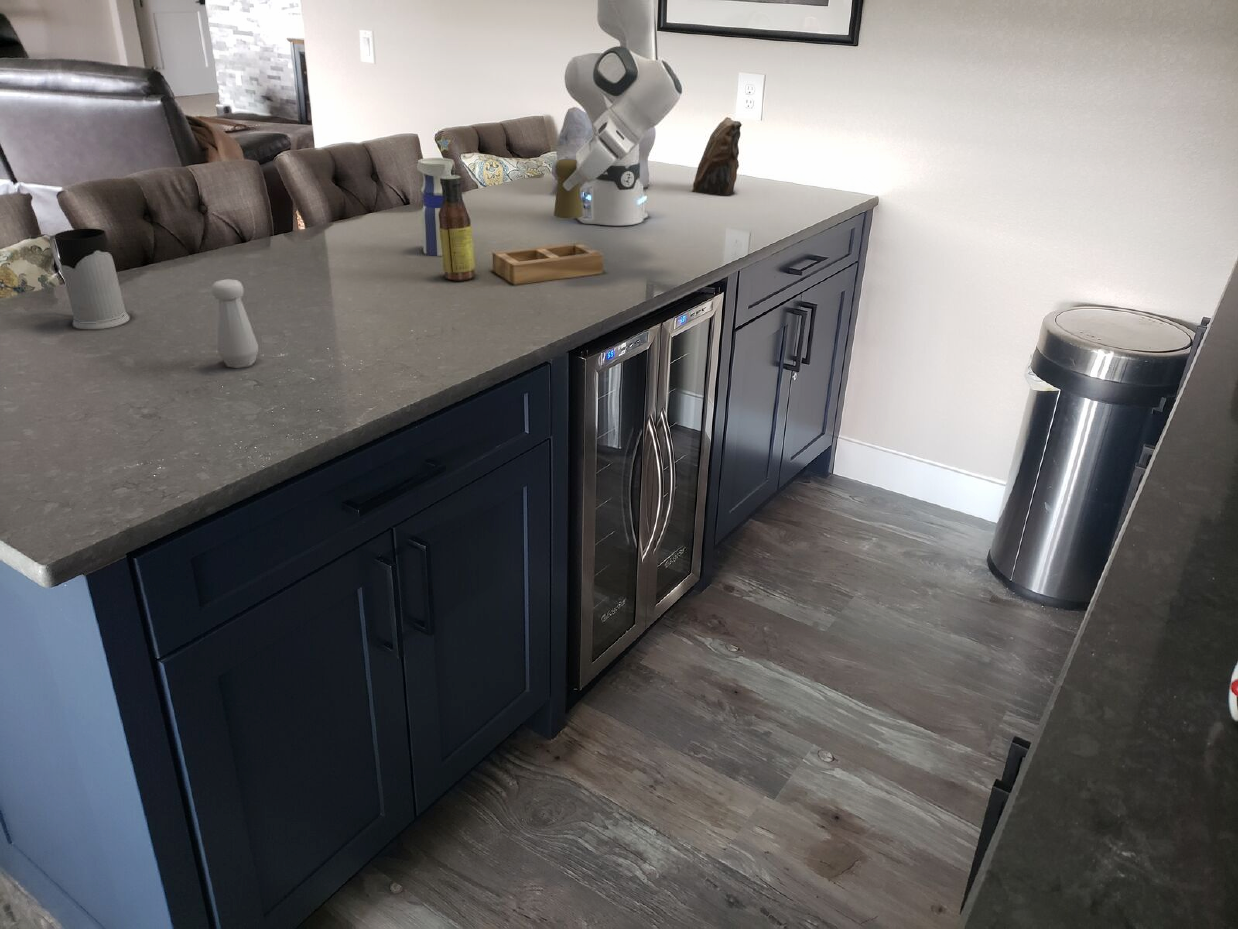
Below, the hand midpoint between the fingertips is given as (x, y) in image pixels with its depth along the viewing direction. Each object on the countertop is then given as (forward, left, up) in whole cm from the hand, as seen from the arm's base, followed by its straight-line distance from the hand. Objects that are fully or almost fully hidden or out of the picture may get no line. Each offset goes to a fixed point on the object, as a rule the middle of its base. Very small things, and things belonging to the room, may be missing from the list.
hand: (565, 185), depth 187 cm
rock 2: (-57, +77, -17) cm, 97 cm away
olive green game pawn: (0, +1, -6) cm, 6 cm away
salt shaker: (+26, -69, -17) cm, 76 cm away
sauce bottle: (-4, -22, -17) cm, 29 cm away
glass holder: (-7, -88, -17) cm, 90 cm away
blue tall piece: (-25, -18, -17) cm, 35 cm away
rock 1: (-74, +49, -17) cm, 90 cm away
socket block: (0, -4, -17) cm, 18 cm away
